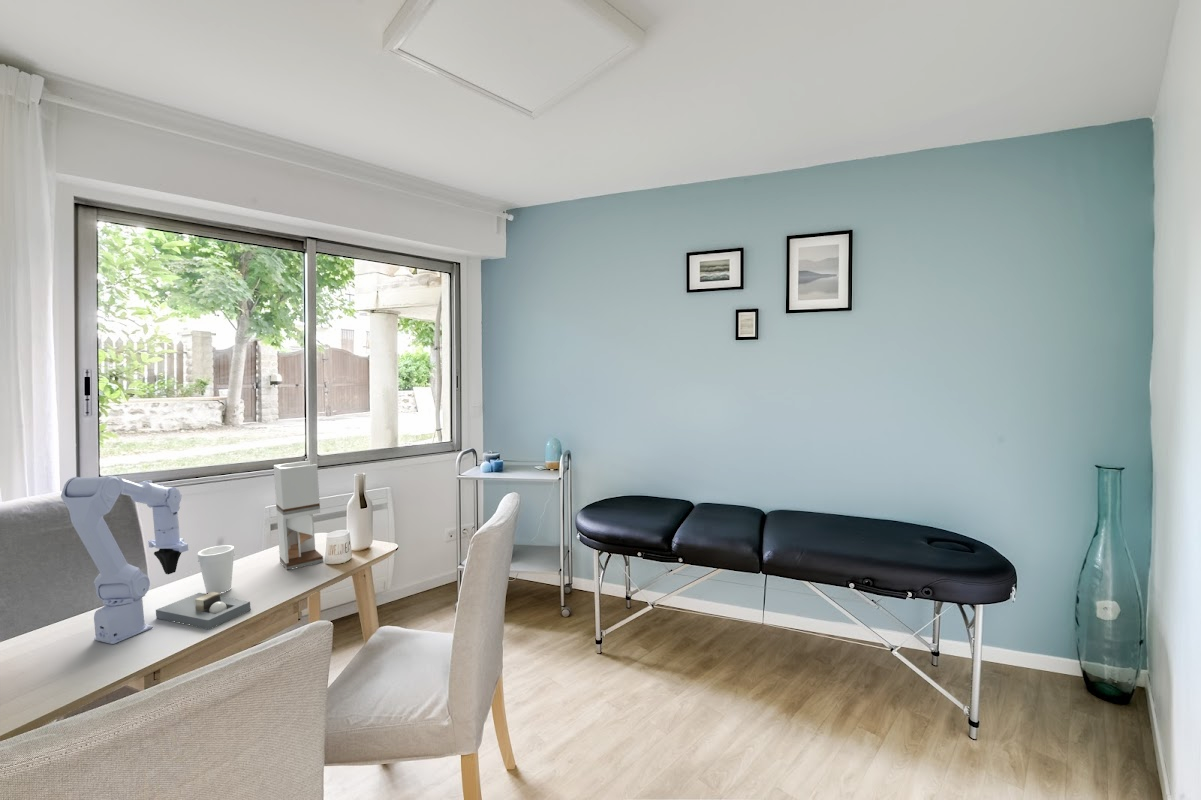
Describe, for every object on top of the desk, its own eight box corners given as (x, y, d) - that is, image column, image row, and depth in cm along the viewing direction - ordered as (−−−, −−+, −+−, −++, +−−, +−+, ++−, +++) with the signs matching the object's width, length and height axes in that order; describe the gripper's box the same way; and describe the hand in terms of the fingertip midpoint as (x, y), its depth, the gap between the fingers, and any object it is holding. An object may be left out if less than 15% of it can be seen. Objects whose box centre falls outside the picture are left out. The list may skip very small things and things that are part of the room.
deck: (208, 629, 149) (208, 620, 149) (156, 618, 157) (155, 609, 156) (250, 610, 161) (250, 601, 160) (199, 600, 168) (199, 592, 168)
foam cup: (244, 585, 179) (241, 545, 178) (221, 597, 170) (218, 555, 169) (216, 584, 180) (213, 545, 179) (193, 596, 171) (189, 555, 170)
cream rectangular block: (204, 611, 155) (203, 600, 154) (195, 609, 156) (194, 599, 156) (221, 603, 159) (221, 593, 159) (213, 602, 161) (212, 591, 160)
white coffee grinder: (287, 570, 191) (280, 469, 188) (280, 562, 199) (273, 465, 196) (323, 561, 199) (317, 464, 196) (314, 554, 207) (309, 460, 204)
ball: (204, 605, 155) (207, 619, 155) (214, 604, 154) (217, 619, 154) (218, 599, 159) (221, 613, 159) (228, 598, 158) (231, 612, 158)
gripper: (197, 526, 165) (201, 570, 166) (165, 521, 170) (168, 565, 171) (171, 533, 159) (175, 579, 160) (139, 528, 164) (143, 573, 165)
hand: (170, 572), depth 165 cm, fingers closed
